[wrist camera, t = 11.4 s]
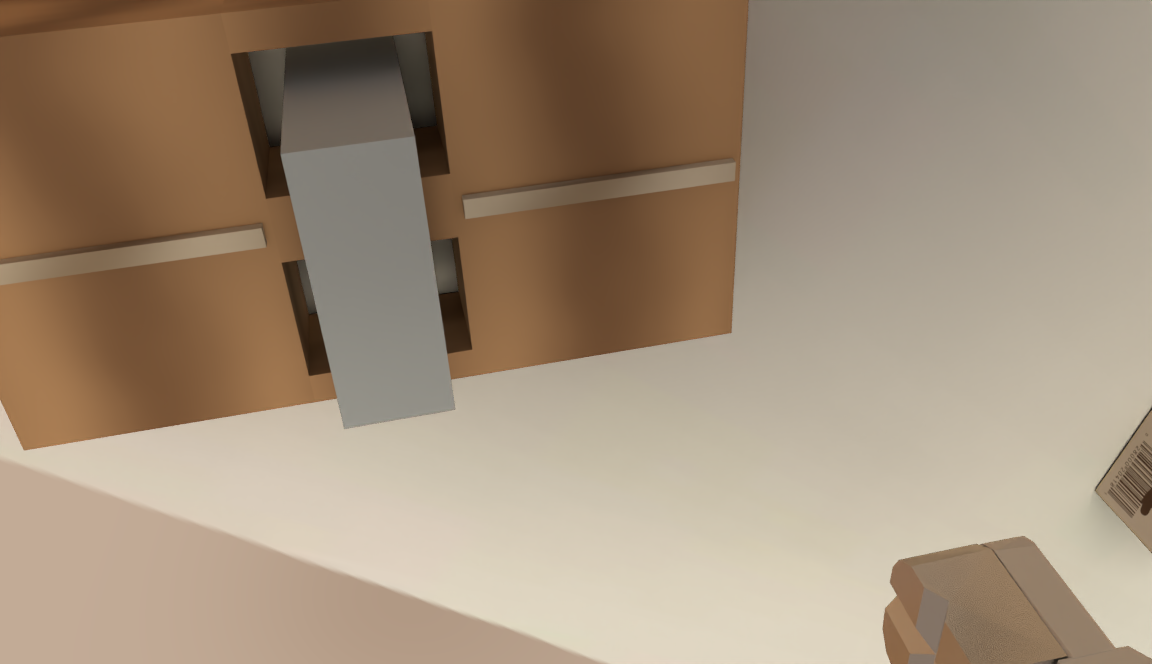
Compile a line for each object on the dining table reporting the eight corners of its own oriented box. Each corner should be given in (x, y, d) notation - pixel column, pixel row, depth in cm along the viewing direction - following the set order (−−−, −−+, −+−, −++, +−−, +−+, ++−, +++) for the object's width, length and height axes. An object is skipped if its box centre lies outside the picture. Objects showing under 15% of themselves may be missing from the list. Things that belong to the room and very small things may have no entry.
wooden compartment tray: (708, -74, 29) (754, -41, 26) (697, 279, 36) (734, 337, 33) (-111, 9, 26) (-167, 58, 23) (48, 381, 33) (21, 456, 30)
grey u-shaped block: (392, 34, 29) (414, 136, 23) (428, 272, 34) (455, 409, 28) (285, 46, 29) (280, 154, 23) (337, 286, 33) (344, 428, 27)
